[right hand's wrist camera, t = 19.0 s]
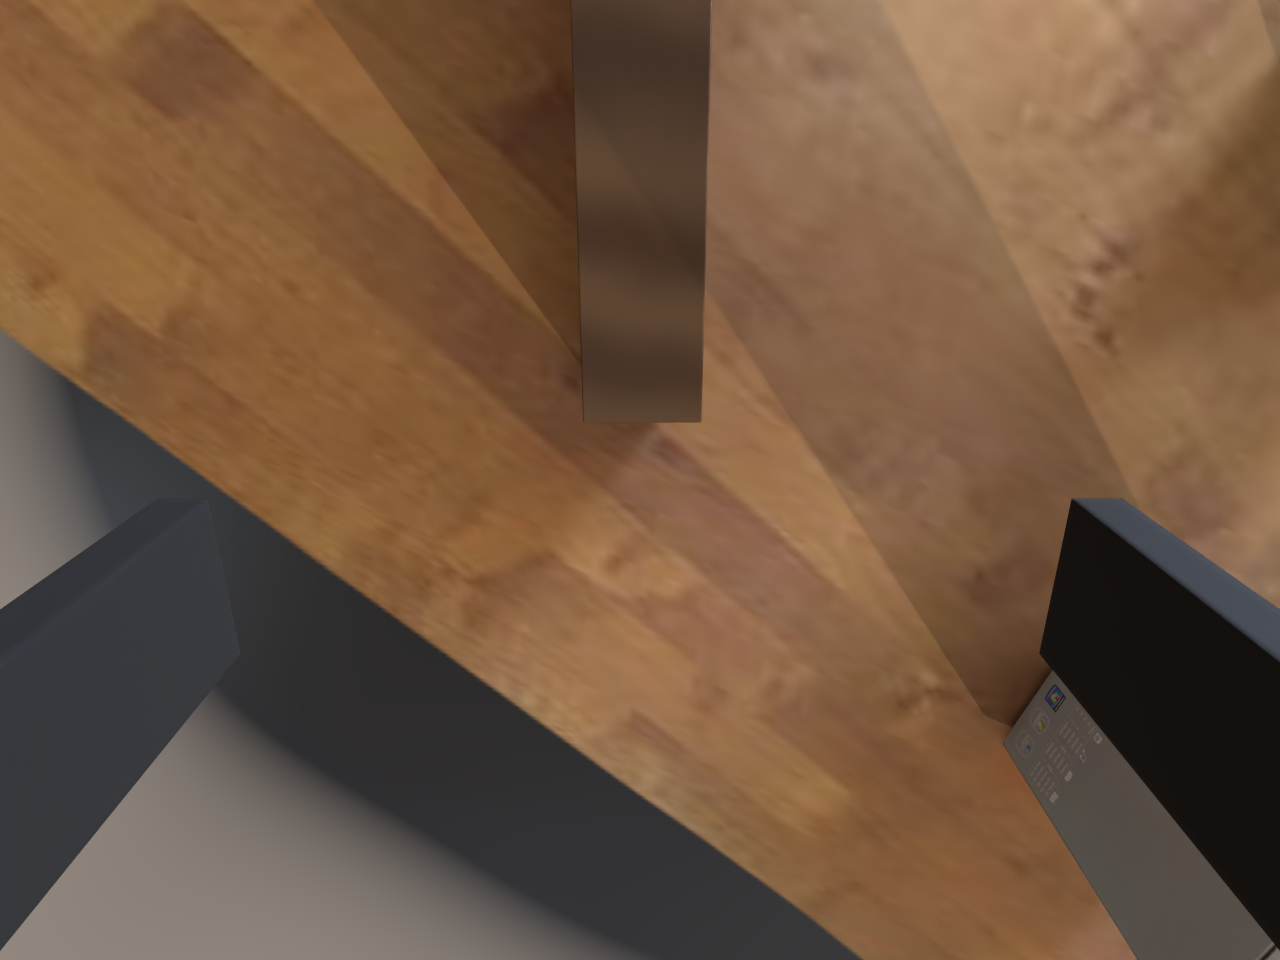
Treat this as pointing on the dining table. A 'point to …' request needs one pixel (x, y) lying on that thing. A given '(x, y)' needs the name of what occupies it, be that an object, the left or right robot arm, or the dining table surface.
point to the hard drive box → (1128, 839)
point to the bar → (641, 204)
